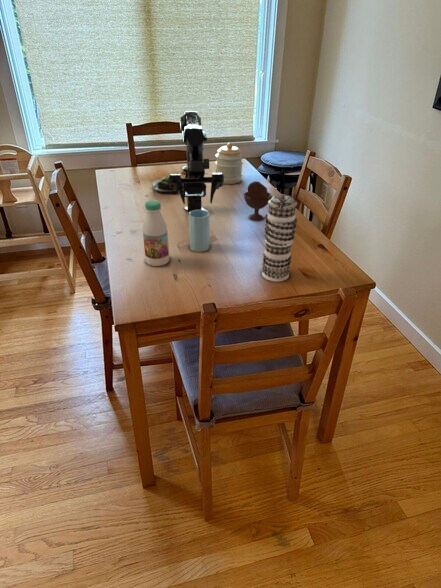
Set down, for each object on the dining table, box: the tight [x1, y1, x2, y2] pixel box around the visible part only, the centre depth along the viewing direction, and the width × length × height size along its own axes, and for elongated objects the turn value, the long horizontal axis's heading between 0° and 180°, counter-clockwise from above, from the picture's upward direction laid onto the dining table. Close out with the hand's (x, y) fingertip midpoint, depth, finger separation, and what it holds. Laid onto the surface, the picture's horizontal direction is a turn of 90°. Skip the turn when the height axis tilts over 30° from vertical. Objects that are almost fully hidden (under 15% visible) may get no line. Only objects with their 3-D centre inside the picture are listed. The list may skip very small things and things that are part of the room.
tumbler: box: [188, 209, 211, 253], centre depth 138 cm, size 7×7×12 cm
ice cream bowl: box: [243, 180, 273, 222], centre depth 158 cm, size 11×11×15 cm
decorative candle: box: [261, 193, 298, 283], centre depth 120 cm, size 9×9×25 cm
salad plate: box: [150, 175, 184, 195], centre depth 190 cm, size 19×18×5 cm
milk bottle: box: [142, 199, 170, 267], centre depth 127 cm, size 8×8×20 cm
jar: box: [215, 142, 244, 185], centre depth 195 cm, size 13×13×18 cm
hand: (197, 203), depth 140 cm, fingers open, 9 cm apart
